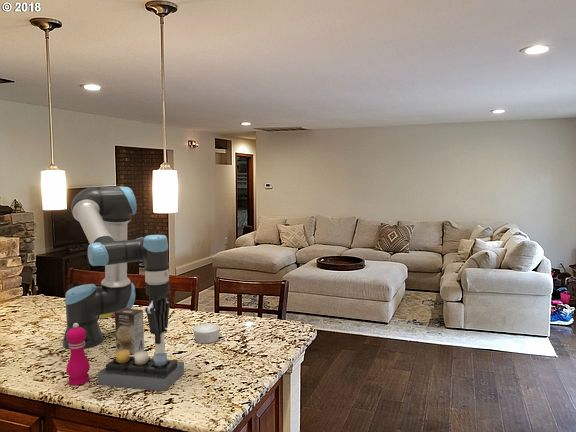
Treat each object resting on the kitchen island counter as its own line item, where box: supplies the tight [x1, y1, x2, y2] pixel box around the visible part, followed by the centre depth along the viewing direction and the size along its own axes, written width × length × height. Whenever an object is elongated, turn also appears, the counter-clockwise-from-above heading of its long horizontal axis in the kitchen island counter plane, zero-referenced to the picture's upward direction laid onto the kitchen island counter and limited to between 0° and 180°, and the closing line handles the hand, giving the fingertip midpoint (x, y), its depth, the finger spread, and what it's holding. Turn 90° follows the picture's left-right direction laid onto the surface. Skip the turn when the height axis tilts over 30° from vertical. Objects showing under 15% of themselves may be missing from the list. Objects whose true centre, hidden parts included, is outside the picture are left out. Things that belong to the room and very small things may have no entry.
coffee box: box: [114, 307, 145, 355], centre depth 182 cm, size 9×6×16 cm
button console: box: [97, 356, 185, 392], centre depth 157 cm, size 24×14×6 cm, turn 77°
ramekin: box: [192, 322, 221, 344], centre depth 193 cm, size 11×11×5 cm
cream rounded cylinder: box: [133, 350, 149, 366], centre depth 156 cm, size 4×4×7 cm
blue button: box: [152, 352, 168, 368], centre depth 155 cm, size 4×4×7 cm
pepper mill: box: [65, 323, 91, 386], centre depth 155 cm, size 7×7×20 cm
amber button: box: [115, 349, 131, 365], centre depth 158 cm, size 4×4×7 cm
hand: (160, 351), depth 154 cm, fingers closed
